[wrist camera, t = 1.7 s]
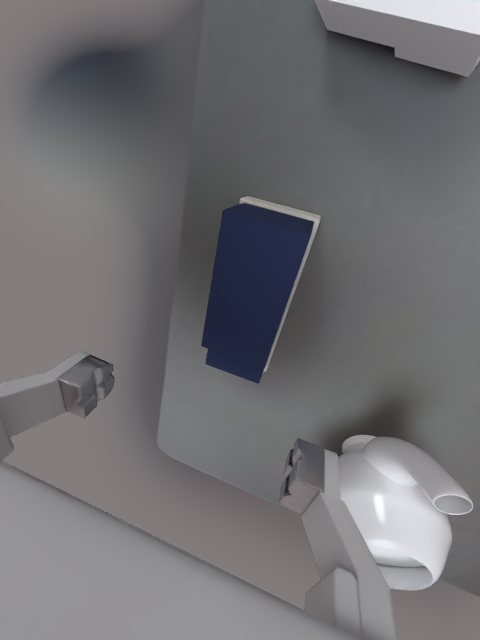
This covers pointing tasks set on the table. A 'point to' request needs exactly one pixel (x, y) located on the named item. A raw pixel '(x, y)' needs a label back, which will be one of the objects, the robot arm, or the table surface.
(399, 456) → the teapot
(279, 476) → the table surface
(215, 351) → the navy stepped block
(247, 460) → the table surface
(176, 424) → the table surface
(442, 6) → the bracket
